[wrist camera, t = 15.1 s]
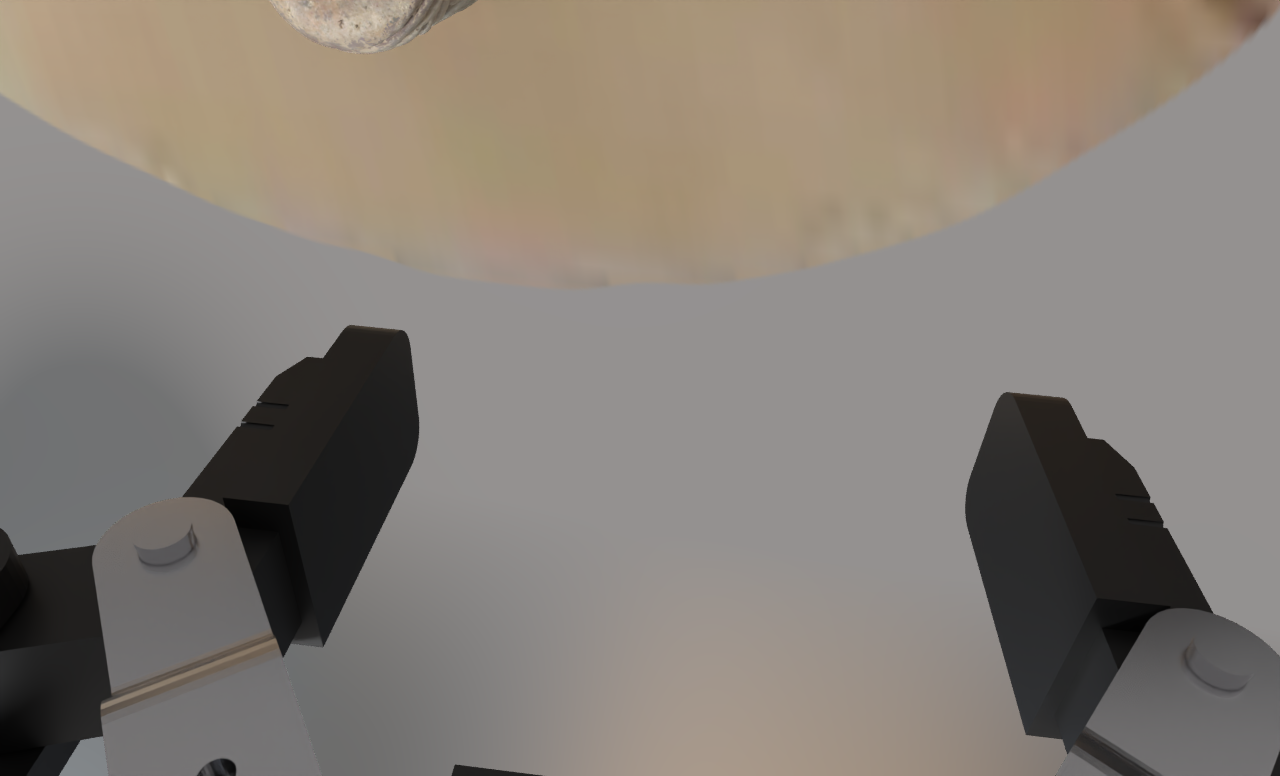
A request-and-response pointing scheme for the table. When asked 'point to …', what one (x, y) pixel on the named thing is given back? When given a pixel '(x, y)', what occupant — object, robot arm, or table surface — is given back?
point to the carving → (365, 21)
